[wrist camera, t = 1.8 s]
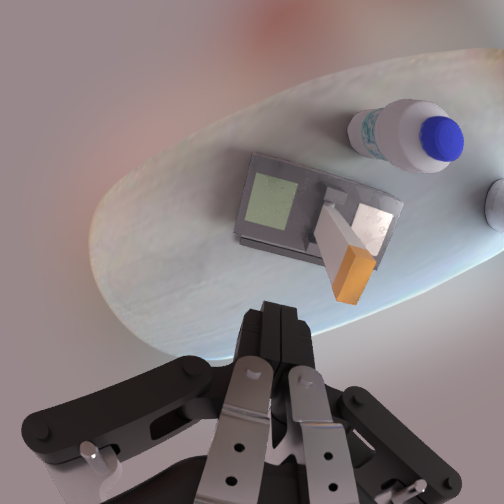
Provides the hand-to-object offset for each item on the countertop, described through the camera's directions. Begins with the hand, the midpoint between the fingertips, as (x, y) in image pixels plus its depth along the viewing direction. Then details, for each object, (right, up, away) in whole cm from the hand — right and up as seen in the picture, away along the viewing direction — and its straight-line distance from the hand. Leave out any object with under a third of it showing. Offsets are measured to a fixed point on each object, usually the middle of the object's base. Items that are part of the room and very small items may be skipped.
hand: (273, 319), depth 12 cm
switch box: (+8, +9, +24) cm, 27 cm away
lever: (+7, +7, +19) cm, 22 cm away
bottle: (+14, +19, +19) cm, 30 cm away
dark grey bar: (+6, +3, +27) cm, 28 cm away
